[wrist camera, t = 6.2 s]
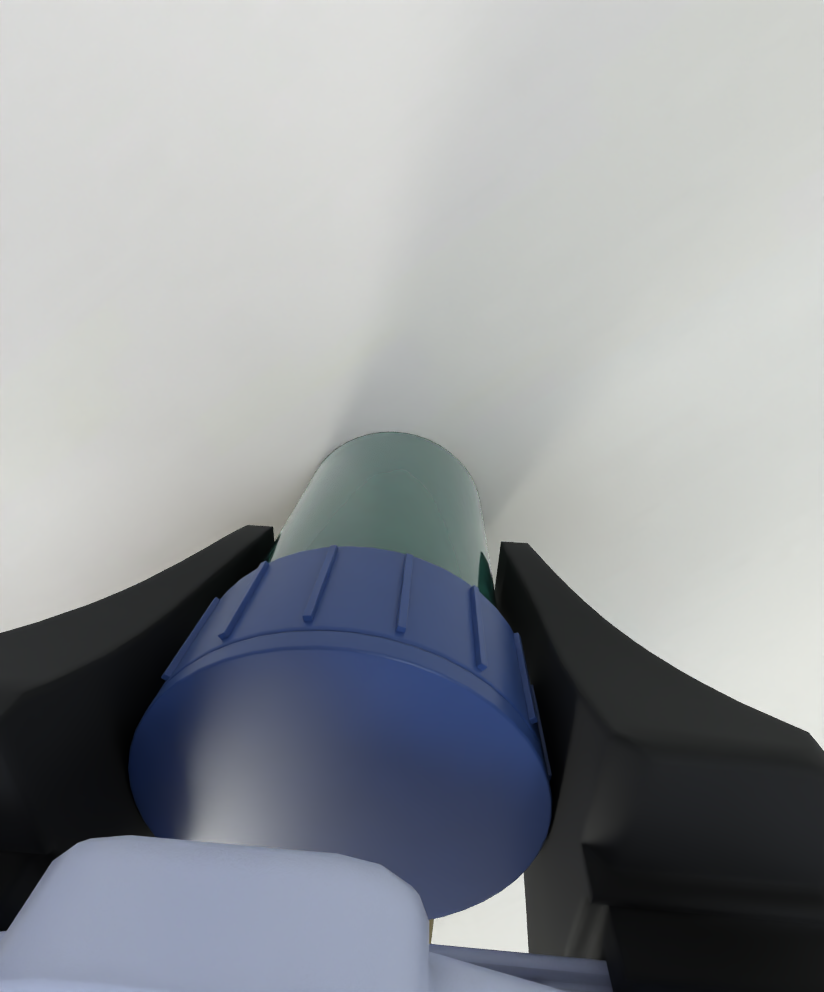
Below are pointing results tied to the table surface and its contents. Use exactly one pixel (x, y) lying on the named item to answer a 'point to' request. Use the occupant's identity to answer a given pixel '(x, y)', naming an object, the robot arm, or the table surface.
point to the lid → (353, 725)
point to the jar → (394, 506)
